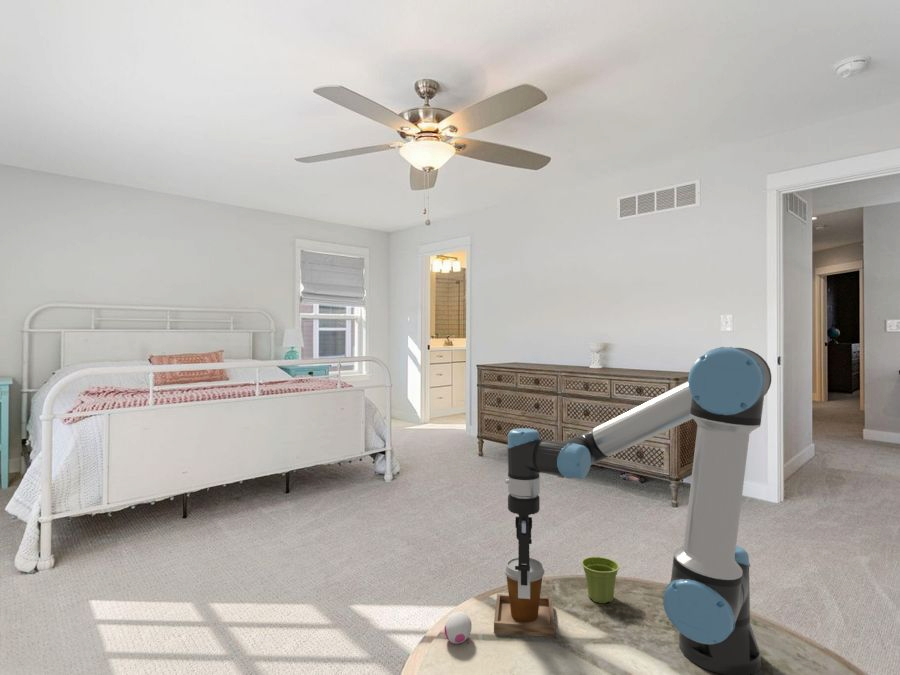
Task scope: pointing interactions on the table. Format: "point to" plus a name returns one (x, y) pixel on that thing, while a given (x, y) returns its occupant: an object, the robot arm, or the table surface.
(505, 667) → the table surface
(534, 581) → the disposable coffee cup
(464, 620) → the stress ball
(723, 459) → the robot arm
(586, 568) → the plant pot
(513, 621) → the tray
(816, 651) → the table surface
